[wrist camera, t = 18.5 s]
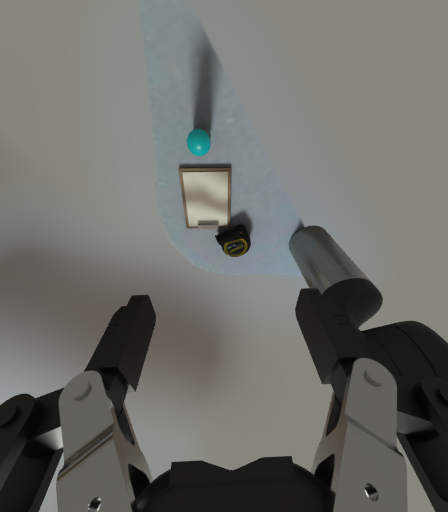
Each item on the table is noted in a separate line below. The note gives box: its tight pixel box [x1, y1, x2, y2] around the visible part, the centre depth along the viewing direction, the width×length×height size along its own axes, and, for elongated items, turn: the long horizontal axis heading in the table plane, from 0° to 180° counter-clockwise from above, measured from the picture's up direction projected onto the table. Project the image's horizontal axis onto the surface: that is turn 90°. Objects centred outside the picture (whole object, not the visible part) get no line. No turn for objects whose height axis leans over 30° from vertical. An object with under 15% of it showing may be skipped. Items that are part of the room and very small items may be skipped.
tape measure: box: [215, 224, 251, 257], centre depth 45 cm, size 7×7×4 cm
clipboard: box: [179, 167, 231, 230], centre depth 40 cm, size 12×10×2 cm
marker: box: [187, 125, 211, 156], centre depth 30 cm, size 3×3×9 cm
